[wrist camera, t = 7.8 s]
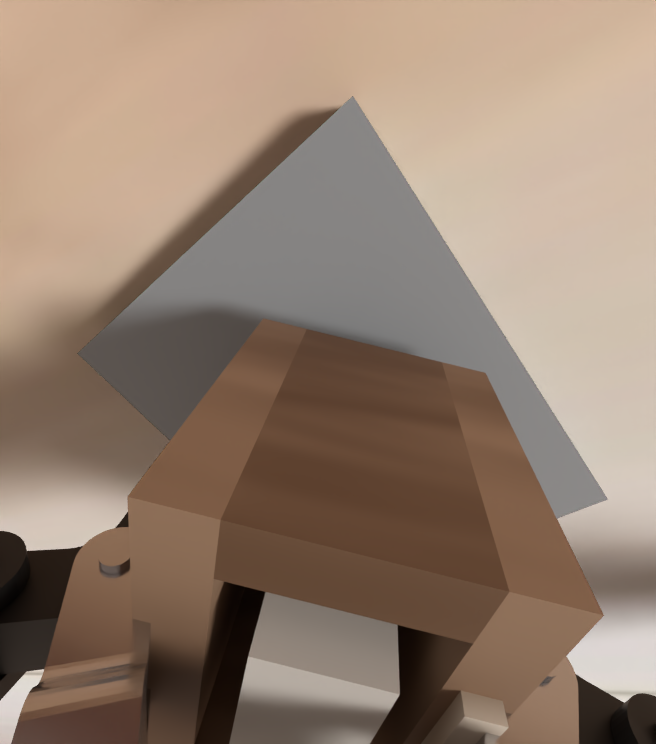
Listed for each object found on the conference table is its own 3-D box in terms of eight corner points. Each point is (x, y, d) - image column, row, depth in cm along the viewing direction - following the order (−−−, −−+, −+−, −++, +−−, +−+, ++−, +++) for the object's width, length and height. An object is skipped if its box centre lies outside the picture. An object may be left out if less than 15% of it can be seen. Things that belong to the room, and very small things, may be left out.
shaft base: (356, 104, 10) (244, -146, 2) (587, 468, 14) (868, 888, 6) (105, 335, 14) (-284, 579, 6) (342, 568, 19) (310, 904, 10)
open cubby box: (263, 318, 10) (112, 517, 4) (485, 372, 10) (617, 642, 4) (234, 523, 13) (129, 778, 8) (398, 564, 13) (409, 848, 8)
